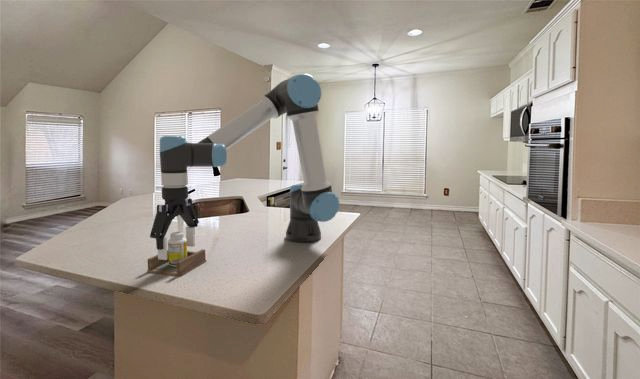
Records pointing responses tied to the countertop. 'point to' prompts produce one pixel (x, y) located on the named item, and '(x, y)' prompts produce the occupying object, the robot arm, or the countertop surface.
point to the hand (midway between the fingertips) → (177, 252)
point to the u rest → (182, 266)
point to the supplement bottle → (176, 248)
